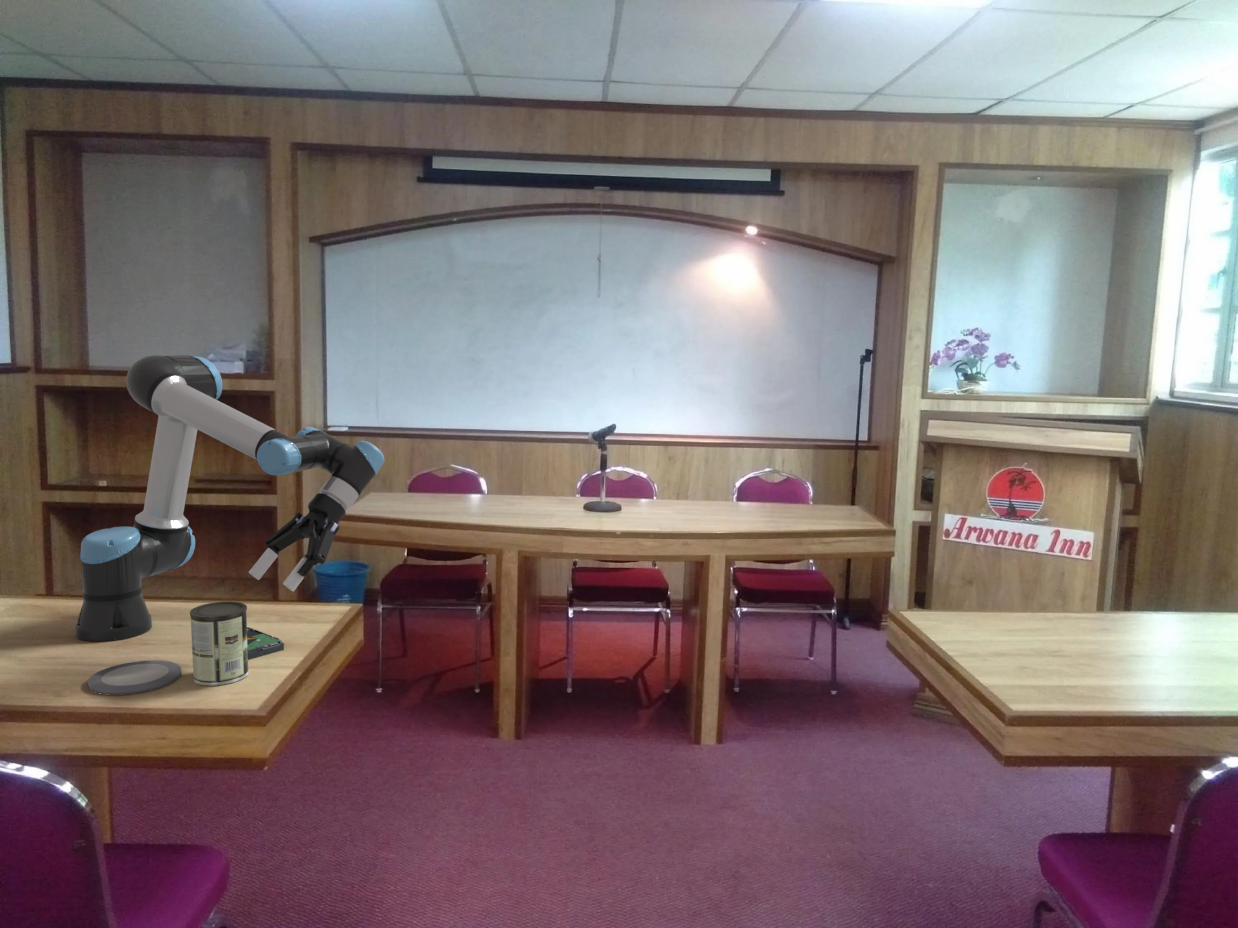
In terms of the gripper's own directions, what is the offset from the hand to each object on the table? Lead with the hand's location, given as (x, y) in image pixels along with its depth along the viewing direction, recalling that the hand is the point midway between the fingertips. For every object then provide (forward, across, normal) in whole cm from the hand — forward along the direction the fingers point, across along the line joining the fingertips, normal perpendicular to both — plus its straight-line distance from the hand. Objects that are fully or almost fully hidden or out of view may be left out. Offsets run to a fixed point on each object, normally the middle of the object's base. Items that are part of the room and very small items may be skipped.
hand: (270, 581), depth 177 cm
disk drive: (+12, +13, -13) cm, 22 cm away
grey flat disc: (+28, +11, +4) cm, 30 cm away
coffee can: (+20, 0, -5) cm, 21 cm away
